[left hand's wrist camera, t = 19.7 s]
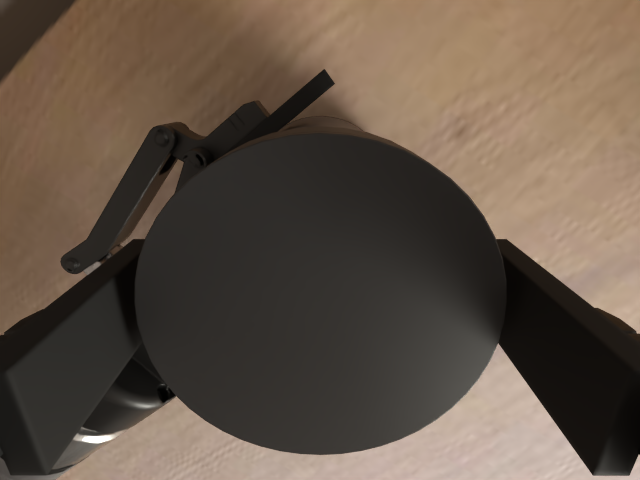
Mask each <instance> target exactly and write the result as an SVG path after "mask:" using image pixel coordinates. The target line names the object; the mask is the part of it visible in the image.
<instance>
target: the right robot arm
mask: <svg viewBox="0 0 640 480" xmlns="http://www.w3.org/2000/svg"><path fill="white" fill-rule="evenodd" d="M334 84H335V83H334V82H333V80H332V79H331V78H330V76H329V75H328V73H327V72H326V70H325V69H324V70H323V71H321V72H320V73H319V74H318V75H317V76H316V77H314V78H313V79H312V80H311V81H310V82H309V83H307V84H306V85H305V86H304V87H303V88H302V89H300V90H299V91H298V92H297V93H296V94H295V95H293V96H292V97H291V98H290V99H289V100H288V101H286V102H285V103H284V104H283V105H282V106H281V107H279V108H278V109H277V110H276V111H275V112H274V113H272V114H271V115H270V114H269V113H268V112H267V110H266V109H265V108H264V107H263V105H262V104H261V103H260V102H259V101H253V102H250V103H247V104H244V105H242V106H241V107H240V108H239V109H238V110H237V111H235V113H233V114H232V115H231V116H230V117H229V118H228V119H226V120H225V121H224V122H223V123H222V124H221V125H220V126H219V127H217V128H216V129H215V130H214V131H213V132H212V133H211V134H209V135H208V136H207V137H203V136H200V135H198V134H196V133H194V132H193V131H191V130H189V128H188V127H187V126H186V125H185V124H183V123H181V122H174V123H169V124H164V125H159V126H156V127H153V128H152V129H151V130H150V132H149V133H148V135H147V137H146V138H145V140H144V142H143V144H142V145H141V147H140V149H139V150H138V152H137V154H136V156H135V157H134V159H133V161H132V162H131V164H130V166H129V168H128V169H127V171H126V173H125V174H124V176H123V178H122V180H121V181H120V183H119V185H118V186H117V188H116V190H115V192H114V193H113V195H112V197H111V198H110V200H109V202H108V204H107V205H106V207H105V209H104V210H103V212H102V214H101V216H100V217H99V219H98V221H97V223H96V224H95V226H94V228H93V229H92V231H91V233H90V235H89V236H88V238H87V240H85V241H84V242H82V243H81V244H79V245H78V246H76V247H75V248H73V249H72V250H71V251H69V252H68V253H66V254H65V255H63V257H62V258H61V265H62V267H63V268H64V270H66V271H67V272H69V273H72V274H78V273H80V272H82V271H84V272H85V273H86V274H87V275H88V274H90V273H91V272H92V271H94V270H95V269H96V268H97V267H99V266H100V265H101V264H103V263H104V262H105V261H106V260H108V259H109V258H110V257H111V256H113V255H114V254H115V253H117V252H118V251H119V250H120V249H122V248H123V246H121V245H120V244H121V243H122V242H123V241H125V240H126V239H127V238H128V237H129V236H130V234H131V233H132V231H133V230H134V229H135V227H136V225H137V224H138V222H139V221H140V219H141V217H142V216H143V214H144V213H145V211H146V209H147V208H148V206H149V205H150V203H151V201H152V200H153V198H154V197H155V195H156V193H157V192H158V190H159V189H160V187H161V185H162V184H163V182H164V181H165V179H166V177H167V176H168V174H169V173H170V171H171V169H172V168H173V166H174V165H175V163H176V162H177V160H178V159H179V160H181V161H183V162H184V165H183V168H182V171H181V174H180V178H179V181H178V184H177V187H176V191H175V193H176V192H177V191H178V190H179V189H180V188H181V187H182V186H183V185H184V184H185V183H186V182H187V181H188V180H189V179H190V178H192V177H193V176H194V175H196V174H197V173H199V172H200V171H201V170H203V169H204V168H205V167H207V166H208V165H210V164H211V163H212V162H214V161H216V160H217V159H219V158H220V157H222V156H223V155H225V154H226V153H228V152H230V151H232V150H234V149H235V148H237V147H239V146H241V145H243V144H245V143H247V142H249V141H251V140H254V139H257V138H259V137H262V136H265V135H268V134H271V133H274V132H278V131H279V130H280V129H281V128H283V127H284V126H285V125H286V124H287V123H289V122H290V121H291V120H292V119H293V118H295V117H296V116H297V115H298V114H299V113H300V112H302V111H303V110H304V109H305V108H306V107H308V106H309V105H310V104H311V103H312V102H314V101H315V100H316V99H317V98H318V97H320V96H321V95H322V94H323V93H324V92H326V91H327V90H328V89H329V88H330V87H331V86H333V85H334ZM175 397H176V395H175V394H174V393H173V392H172V390H171V389H170V388H169V387H168V386H167V384H166V383H165V382H164V381H163V380H162V378H161V376H160V375H159V373H158V372H157V370H156V368H155V367H154V365H153V364H152V362H151V360H150V358H149V356H148V353H147V351H146V349H145V347H144V345H143V342H142V343H141V345H140V346H139V347H138V349H137V350H136V352H135V353H134V354H133V356H132V357H131V359H130V360H129V361H128V363H127V364H126V366H125V367H124V368H123V370H122V371H121V373H120V374H119V375H118V377H117V378H116V380H115V381H114V382H113V384H112V385H111V387H110V388H109V389H108V391H107V392H106V394H105V395H104V396H103V398H102V399H101V401H100V402H99V403H98V405H97V406H96V408H95V409H94V410H93V412H92V413H91V415H90V416H89V417H88V419H87V420H86V422H85V423H84V424H83V426H82V427H81V429H80V430H79V431H78V433H77V434H76V436H75V437H74V438H73V440H72V441H71V443H70V444H69V445H68V447H67V448H66V450H65V451H64V452H63V454H62V455H61V457H60V458H59V459H58V461H57V462H56V464H55V465H54V466H53V468H52V469H51V471H50V472H49V473H48V475H47V476H11V475H10V473H9V471H8V468H7V466H6V464H5V462H4V459H3V457H2V456H1V457H0V480H56V479H57V478H58V477H60V476H61V475H62V474H64V473H65V472H67V471H68V470H69V469H71V468H72V467H74V466H75V465H76V464H78V463H79V462H81V461H82V460H84V459H85V458H87V457H88V456H89V455H91V454H92V453H94V452H95V451H97V450H99V449H100V448H102V447H103V446H105V445H106V444H108V443H109V442H111V441H113V440H114V439H116V438H117V437H119V436H120V435H122V434H123V433H125V432H126V431H127V430H128V429H129V428H130V427H132V426H134V425H136V424H137V423H139V422H140V421H142V420H143V419H145V418H146V417H148V416H149V415H150V414H152V413H153V412H155V411H156V410H158V409H159V408H161V407H162V406H164V405H165V404H167V403H168V402H169V401H171V400H172V399H173V398H175Z"/></svg>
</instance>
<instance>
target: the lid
mask: <svg viewBox="0 0 640 480" xmlns="http://www.w3.org/2000/svg"><path fill="white" fill-rule="evenodd" d="M134 304H135V312H136V319H137V325H138V328H139V332H140V335H141V338H142V342H143V345H144V347H145V349H146V351H147V353H148V356H149V358H150V360H151V362H152V364H153V365H154V367H155V368H156V370H157V372H158V373H159V375H160V376H161V378H162V380H163V381H164V382H165V383H166V384H167V386H168V387H169V388H170V389H171V390H172V392H173V393H174V394H175V395H176V396H177V397H178V398H179V399H180V400H181V401H182V402H183V403H184V404H185V405H186V406H187V407H188V408H189V409H191V410H192V411H193V412H195V413H196V414H197V415H199V416H200V417H201V418H203V419H204V420H205V421H207V422H209V423H210V424H212V425H214V426H215V427H217V428H219V429H220V430H222V431H224V432H226V433H228V434H230V435H232V436H235V437H237V438H239V439H241V440H244V441H247V442H250V443H252V444H255V445H258V446H261V447H265V448H270V449H274V450H278V451H283V452H291V453H298V454H314V455H327V454H343V453H350V452H357V451H363V450H367V449H371V448H375V447H379V446H383V445H386V444H388V443H391V442H394V441H397V440H400V439H402V438H404V437H406V436H408V435H411V434H413V433H415V432H417V431H419V430H421V429H422V428H424V427H426V426H427V425H429V424H431V423H432V422H434V421H436V420H437V419H438V418H440V417H441V416H442V415H443V414H445V413H446V412H447V411H449V410H450V409H451V408H452V407H454V406H455V405H456V404H457V403H458V402H459V401H460V400H461V399H462V398H463V397H464V396H465V395H466V394H467V393H468V392H469V390H470V389H471V388H472V387H473V385H474V384H475V383H476V382H477V381H478V379H479V378H480V376H481V375H482V373H483V371H484V370H485V368H486V367H487V365H488V363H489V362H490V360H491V358H492V355H493V353H494V351H495V349H496V346H497V344H498V342H499V338H500V335H501V331H502V328H503V324H504V319H505V311H506V304H507V291H506V276H505V270H504V265H503V259H502V256H501V253H500V250H499V247H498V244H497V241H496V238H495V236H494V234H493V232H492V230H491V228H490V227H489V225H488V223H487V221H486V219H485V217H484V216H483V214H482V213H481V212H480V210H479V209H478V208H477V206H476V205H475V204H474V202H473V201H472V200H471V198H470V197H469V196H468V195H467V194H466V193H465V192H464V191H463V190H462V189H461V188H460V187H459V186H458V185H457V184H456V183H455V182H454V181H453V180H452V179H451V178H449V177H448V176H447V175H445V174H444V173H443V172H441V171H440V170H438V169H437V168H436V167H434V166H433V165H431V164H430V163H429V162H427V161H425V160H424V159H422V158H421V157H419V156H418V155H416V154H414V153H413V152H411V151H409V150H407V149H406V148H404V147H402V146H400V145H398V144H396V143H394V142H392V141H390V140H387V139H384V138H382V137H379V136H376V135H373V134H370V133H367V132H362V131H357V130H352V129H347V128H339V127H323V126H317V127H303V128H293V129H289V130H284V131H279V132H274V133H271V134H268V135H265V136H262V137H259V138H257V139H254V140H251V141H249V142H247V143H245V144H243V145H241V146H239V147H237V148H235V149H234V150H232V151H230V152H228V153H226V154H225V155H223V156H222V157H220V158H219V159H217V160H216V161H214V162H212V163H211V164H210V165H208V166H207V167H205V168H204V169H203V170H201V171H200V172H199V173H197V174H196V175H194V176H193V177H192V178H190V179H189V180H188V181H187V182H186V183H185V184H184V185H183V186H182V187H181V188H180V189H179V190H178V191H177V192H176V193H175V194H174V195H173V196H172V197H171V198H170V200H169V201H168V202H167V204H166V205H165V206H164V208H163V209H162V210H161V212H160V213H159V214H158V216H157V217H156V219H155V221H154V223H153V225H152V227H151V229H150V230H149V232H148V234H147V236H146V238H145V241H144V244H143V247H142V250H141V253H140V256H139V259H138V264H137V270H136V276H135V288H134Z"/></svg>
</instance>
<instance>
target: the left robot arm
mask: <svg viewBox="0 0 640 480" xmlns="http://www.w3.org/2000/svg"><path fill="white" fill-rule="evenodd" d="M144 241H145V239H133V240H132V241H131V242H129V243H128V244H127V245H126V246H124V247H123V248H122V249H120V250H119V251H118V252H117V253H115V254H114V255H113V256H111V257H110V258H109V259H108V260H106V261H105V262H104V263H103V264H101V265H100V266H99V267H97V268H96V269H95V270H94V271H92V272H91V273H90V274H88V275H87V276H86V277H85V278H83V279H82V280H81V281H79V282H78V283H77V284H76V285H74V286H73V287H72V288H71V289H69V290H68V291H67V292H65V293H64V294H63V295H62V296H60V297H59V298H58V299H56V300H55V301H54V302H53V303H51V304H50V305H49V306H47V307H46V308H45V309H42V310H40V311H38V312H36V313H34V314H32V315H30V316H28V317H26V318H24V319H22V320H20V321H19V322H18V323H16V324H15V325H14V326H12V327H11V328H10V329H8V330H7V331H6V332H4V335H0V457H1V456H2V457H3V459H4V462H5V464H6V466H7V468H8V471H9V473H10V475H11V476H47V475H48V473H49V472H50V471H51V469H52V468H53V466H54V465H55V464H56V462H57V461H58V459H59V458H60V457H61V455H62V454H63V452H64V451H65V450H66V448H67V447H68V445H69V444H70V443H71V441H72V440H73V438H74V437H75V436H76V434H77V433H78V431H79V430H80V429H81V427H82V426H83V424H84V423H85V422H86V420H87V419H88V417H89V416H90V415H91V413H92V412H93V410H94V409H95V408H96V406H97V405H98V403H99V402H100V401H101V399H102V398H103V396H104V395H105V394H106V392H107V391H108V389H109V388H110V387H111V385H112V384H113V382H114V381H115V380H116V378H117V377H118V375H119V374H120V373H121V371H122V370H123V368H124V367H125V366H126V364H127V363H128V361H129V360H130V359H131V357H132V356H133V354H134V353H135V352H136V350H137V349H138V347H139V346H140V345H141V343H142V338H141V335H140V332H139V328H138V325H137V319H136V312H135V304H134V288H135V276H136V270H137V264H138V259H139V256H140V253H141V250H142V247H143V244H144ZM496 241H497V244H498V247H499V250H500V253H501V256H502V259H503V265H504V270H505V276H506V291H507V304H506V311H505V319H504V324H503V328H502V331H501V335H500V338H499V342H498V343H499V345H500V346H501V347H502V349H503V350H504V352H505V353H506V354H507V356H508V357H509V359H510V360H511V361H512V363H513V364H514V366H515V367H516V368H517V370H518V371H519V373H520V374H521V375H522V377H523V378H524V380H525V381H526V382H527V384H528V385H529V387H530V388H531V389H532V391H533V392H534V394H535V395H536V396H537V398H538V399H539V401H540V402H541V403H542V405H543V406H544V408H545V409H546V410H547V412H548V413H549V415H550V416H551V417H552V419H553V420H554V422H555V423H556V424H557V426H558V427H559V429H560V430H561V431H562V433H563V434H564V436H565V437H566V438H567V440H568V441H569V443H570V444H571V445H572V447H573V448H574V450H575V451H576V452H577V454H578V455H579V457H580V458H581V459H582V461H583V462H584V464H585V465H586V466H587V468H588V469H589V471H590V472H591V473H592V475H593V476H629V475H630V473H631V471H632V468H633V466H634V464H635V462H636V459H637V457H638V455H640V334H637V333H636V331H635V330H634V329H633V328H631V327H630V326H629V325H627V324H626V323H625V322H623V321H622V320H621V319H619V318H617V317H615V316H613V315H611V314H609V313H607V312H605V311H603V310H601V309H599V308H594V307H593V306H591V305H590V304H589V303H587V302H586V301H585V300H584V299H582V298H581V297H580V296H578V295H577V294H576V293H575V292H573V291H572V290H571V289H569V288H568V287H567V286H566V285H564V284H563V283H562V282H561V281H559V280H558V279H557V278H555V277H554V276H553V275H552V274H550V273H549V272H548V271H546V270H545V269H544V268H543V267H541V266H540V265H539V264H537V263H536V262H535V261H534V260H532V259H531V258H530V257H529V256H527V255H526V254H525V253H523V252H522V251H521V250H520V249H518V248H517V247H516V246H514V245H513V244H512V243H511V242H509V241H508V240H507V239H496Z"/></svg>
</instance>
